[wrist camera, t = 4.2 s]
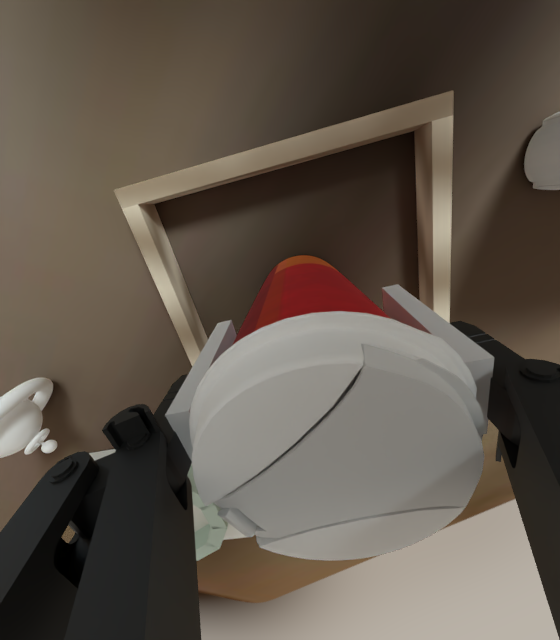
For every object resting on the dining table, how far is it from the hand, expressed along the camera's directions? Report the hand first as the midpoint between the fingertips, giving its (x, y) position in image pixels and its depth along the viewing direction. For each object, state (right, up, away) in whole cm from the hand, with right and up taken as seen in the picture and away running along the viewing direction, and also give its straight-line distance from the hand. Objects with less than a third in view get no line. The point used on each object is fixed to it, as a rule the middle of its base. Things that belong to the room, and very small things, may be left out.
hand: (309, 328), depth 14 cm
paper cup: (0, +2, +5) cm, 6 cm away
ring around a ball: (-21, -6, +10) cm, 24 cm away
